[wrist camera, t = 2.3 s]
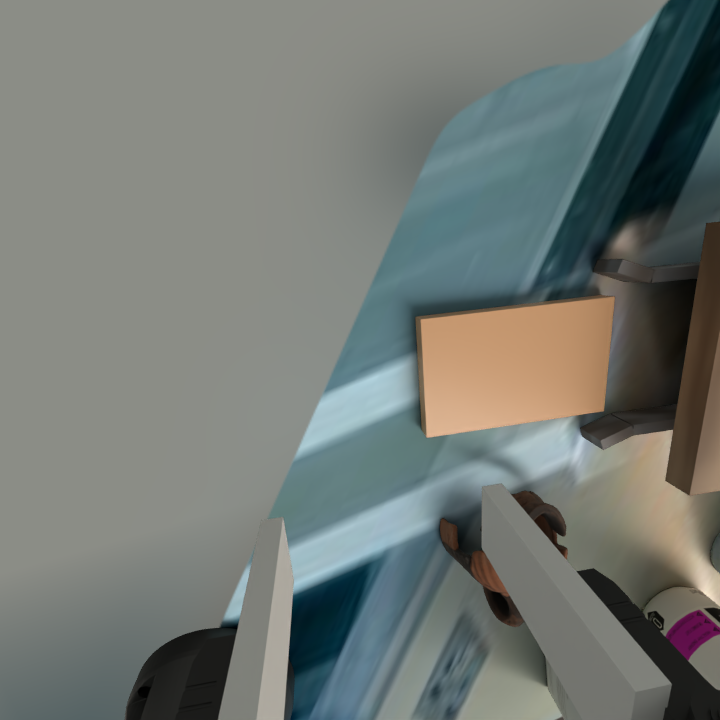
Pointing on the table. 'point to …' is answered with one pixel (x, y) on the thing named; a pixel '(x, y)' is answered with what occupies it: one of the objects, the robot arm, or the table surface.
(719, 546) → the grey cylindrical pot
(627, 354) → the table surface
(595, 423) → the walnut shelf
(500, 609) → the broken clay pot
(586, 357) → the terracotta panel
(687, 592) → the supplement can
